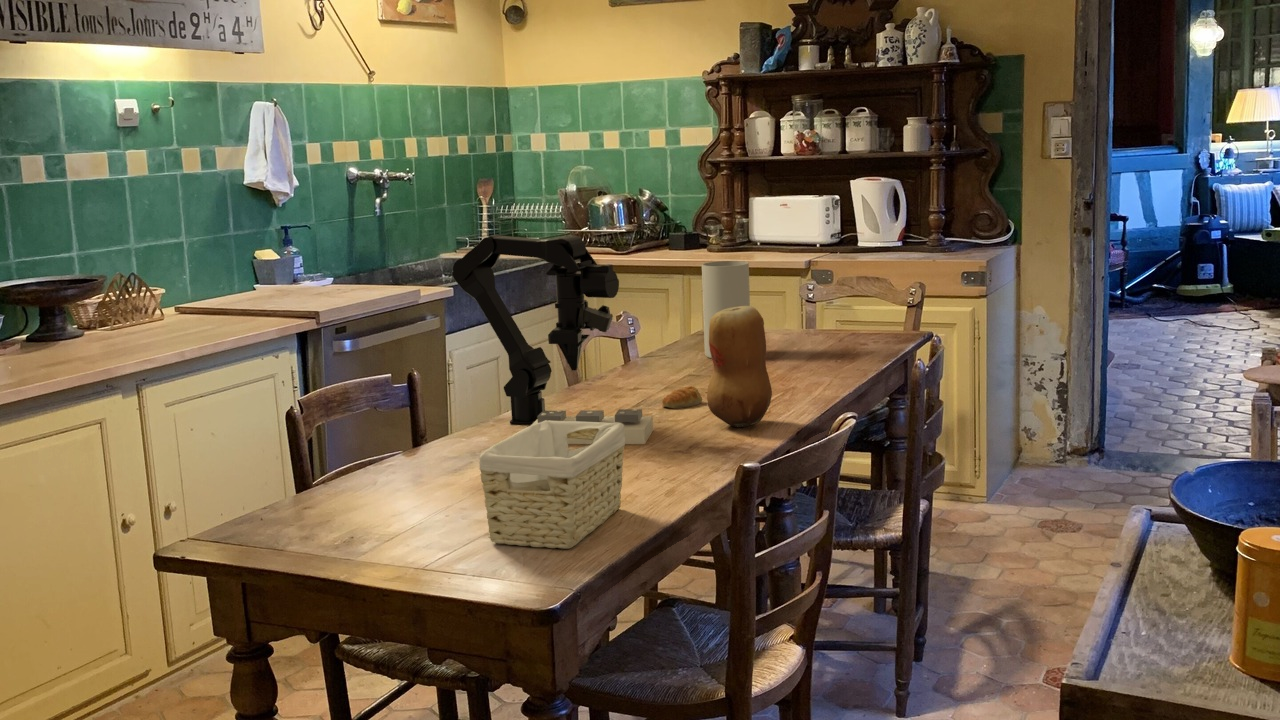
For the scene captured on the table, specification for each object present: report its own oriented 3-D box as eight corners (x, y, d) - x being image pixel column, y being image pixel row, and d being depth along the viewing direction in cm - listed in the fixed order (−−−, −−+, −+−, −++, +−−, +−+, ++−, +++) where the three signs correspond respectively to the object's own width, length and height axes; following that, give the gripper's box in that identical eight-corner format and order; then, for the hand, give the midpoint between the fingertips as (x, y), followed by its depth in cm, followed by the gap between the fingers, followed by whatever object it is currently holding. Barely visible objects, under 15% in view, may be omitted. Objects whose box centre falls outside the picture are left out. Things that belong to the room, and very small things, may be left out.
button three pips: (537, 423, 248) (537, 415, 247) (543, 417, 252) (542, 409, 252) (560, 423, 247) (560, 415, 247) (566, 417, 252) (565, 409, 251)
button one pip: (576, 423, 246) (575, 415, 246) (581, 417, 251) (580, 409, 251) (599, 423, 246) (599, 415, 245) (604, 417, 250) (603, 409, 250)
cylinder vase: (753, 359, 323) (750, 265, 318) (705, 361, 323) (702, 267, 318) (749, 350, 335) (746, 259, 330) (703, 352, 335) (700, 261, 330)
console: (527, 444, 246) (526, 429, 245) (540, 430, 256) (539, 416, 256) (644, 444, 242) (644, 429, 241) (653, 430, 252) (652, 416, 252)
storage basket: (543, 500, 208) (538, 417, 205) (633, 506, 203) (628, 420, 200) (480, 547, 186) (473, 454, 183) (578, 556, 181) (572, 459, 178)
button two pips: (614, 422, 245) (614, 413, 245) (619, 416, 250) (618, 408, 249) (638, 422, 244) (638, 413, 244) (642, 416, 249) (642, 408, 249)
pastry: (676, 411, 269) (675, 394, 268) (654, 408, 273) (653, 391, 273) (704, 403, 275) (704, 387, 274) (682, 400, 280) (682, 383, 279)
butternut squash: (697, 423, 256) (693, 306, 252) (753, 415, 261) (750, 299, 257) (728, 437, 244) (724, 314, 239) (786, 428, 249) (783, 307, 244)
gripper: (599, 302, 244) (603, 379, 247) (616, 289, 262) (620, 361, 265) (545, 303, 246) (550, 379, 249) (566, 290, 264) (570, 361, 267)
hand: (574, 370), depth 257 cm, fingers closed
